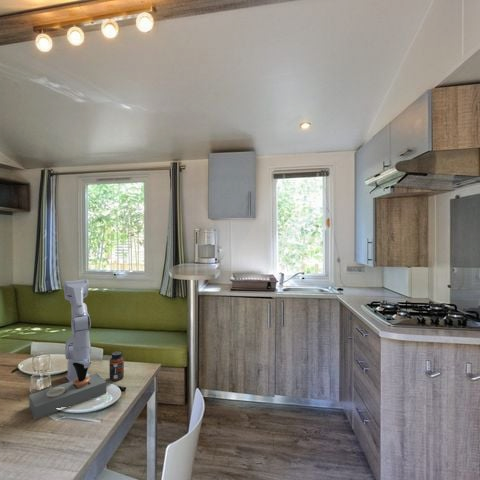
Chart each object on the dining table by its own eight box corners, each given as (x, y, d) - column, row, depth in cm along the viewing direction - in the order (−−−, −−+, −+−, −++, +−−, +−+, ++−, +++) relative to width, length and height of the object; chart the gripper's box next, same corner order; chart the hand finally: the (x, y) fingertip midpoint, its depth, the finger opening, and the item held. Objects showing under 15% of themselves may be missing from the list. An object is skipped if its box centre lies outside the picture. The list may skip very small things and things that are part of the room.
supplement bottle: (118, 382, 126) (118, 356, 126) (106, 380, 128) (106, 355, 127) (126, 375, 132) (126, 351, 132) (115, 374, 133) (114, 350, 133)
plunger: (45, 402, 110) (44, 391, 110) (62, 396, 114) (62, 385, 114) (48, 409, 106) (48, 397, 106) (67, 402, 110) (67, 391, 110)
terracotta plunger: (71, 390, 116) (71, 380, 116) (87, 385, 120) (87, 374, 120) (75, 396, 112) (75, 385, 112) (92, 390, 116) (92, 379, 116)
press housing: (35, 419, 101) (35, 407, 101) (29, 406, 108) (29, 394, 108) (106, 393, 118) (106, 382, 118) (96, 383, 125) (96, 373, 125)
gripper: (64, 344, 118) (65, 377, 118) (75, 354, 108) (76, 390, 108) (83, 339, 123) (84, 371, 123) (95, 349, 113) (96, 383, 113)
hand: (81, 380), depth 116 cm, fingers closed, pressing on terracotta plunger
